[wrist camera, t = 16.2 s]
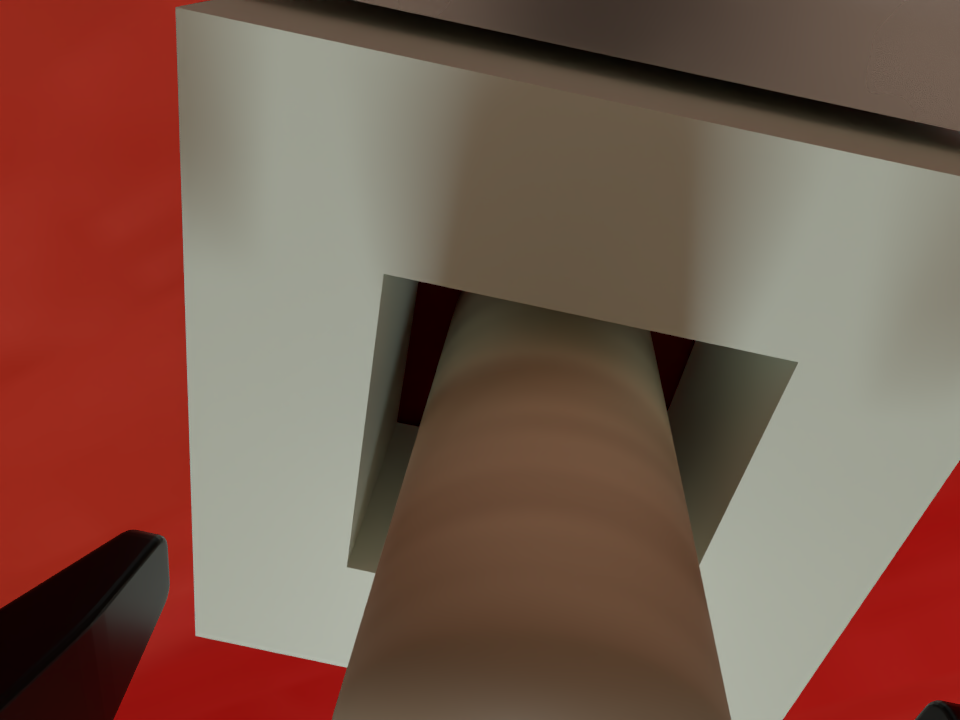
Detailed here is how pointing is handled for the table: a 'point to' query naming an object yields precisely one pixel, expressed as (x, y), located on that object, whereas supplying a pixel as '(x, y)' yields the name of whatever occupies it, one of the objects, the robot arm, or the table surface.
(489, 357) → the dowel
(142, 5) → the table surface
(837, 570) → the block
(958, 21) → the bar
